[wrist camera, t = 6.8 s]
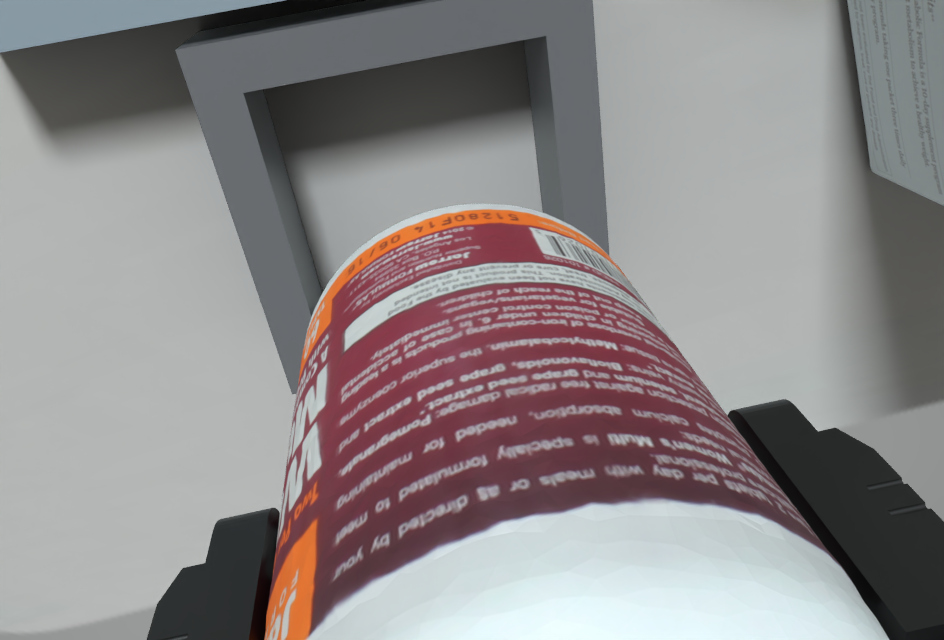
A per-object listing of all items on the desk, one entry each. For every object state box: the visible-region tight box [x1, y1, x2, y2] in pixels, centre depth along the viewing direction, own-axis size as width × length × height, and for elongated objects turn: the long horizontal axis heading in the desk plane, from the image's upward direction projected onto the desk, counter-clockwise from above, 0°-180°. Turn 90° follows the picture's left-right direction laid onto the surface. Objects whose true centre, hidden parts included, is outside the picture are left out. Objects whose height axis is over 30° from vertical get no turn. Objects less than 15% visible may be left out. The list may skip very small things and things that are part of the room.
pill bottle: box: [264, 204, 889, 640], centre depth 9 cm, size 6×6×11 cm
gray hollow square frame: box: [175, 0, 609, 394], centre depth 21 cm, size 10×10×3 cm
